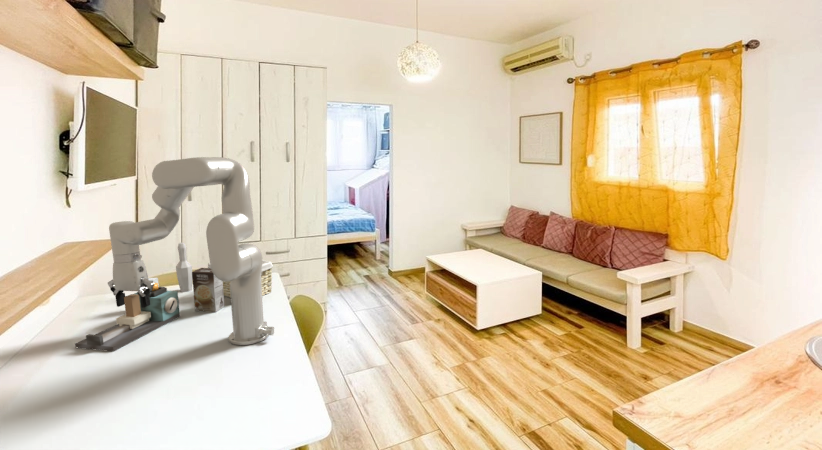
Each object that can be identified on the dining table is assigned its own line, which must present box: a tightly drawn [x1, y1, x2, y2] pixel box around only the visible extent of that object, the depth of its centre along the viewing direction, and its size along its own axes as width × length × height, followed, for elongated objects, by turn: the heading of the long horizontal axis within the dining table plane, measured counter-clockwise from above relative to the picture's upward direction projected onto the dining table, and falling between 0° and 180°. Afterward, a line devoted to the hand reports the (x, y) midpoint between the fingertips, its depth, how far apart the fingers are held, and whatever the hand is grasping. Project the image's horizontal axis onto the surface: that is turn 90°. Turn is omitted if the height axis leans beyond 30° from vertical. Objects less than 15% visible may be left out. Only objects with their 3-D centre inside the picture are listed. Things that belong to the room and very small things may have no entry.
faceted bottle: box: [175, 242, 193, 293], centre depth 179 cm, size 6×6×22 cm
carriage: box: [115, 293, 151, 329], centre depth 138 cm, size 7×7×10 cm
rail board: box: [74, 286, 181, 352], centre depth 137 cm, size 15×28×12 cm, turn 170°
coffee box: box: [192, 267, 225, 313], centre depth 156 cm, size 9×6×16 cm
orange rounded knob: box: [152, 282, 159, 291], centre depth 145 cm, size 4×4×2 cm
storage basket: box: [207, 259, 274, 298], centre depth 175 cm, size 24×16×15 cm
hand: (133, 305), depth 137 cm, fingers open, 9 cm apart
